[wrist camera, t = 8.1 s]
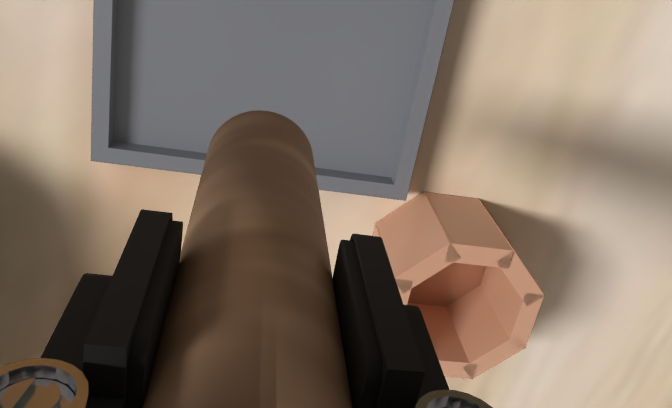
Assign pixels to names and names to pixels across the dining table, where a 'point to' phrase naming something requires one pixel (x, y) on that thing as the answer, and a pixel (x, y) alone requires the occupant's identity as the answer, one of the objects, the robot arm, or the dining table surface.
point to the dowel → (253, 282)
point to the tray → (268, 81)
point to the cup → (461, 280)
